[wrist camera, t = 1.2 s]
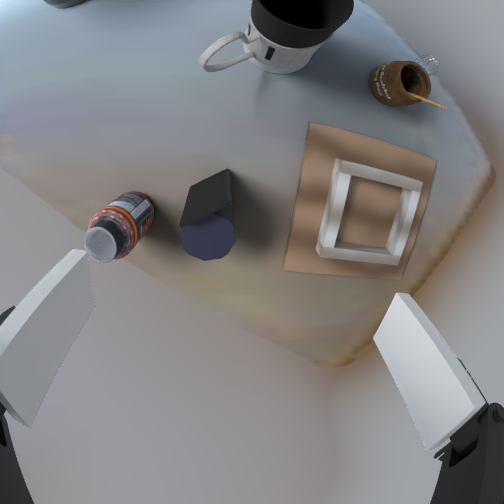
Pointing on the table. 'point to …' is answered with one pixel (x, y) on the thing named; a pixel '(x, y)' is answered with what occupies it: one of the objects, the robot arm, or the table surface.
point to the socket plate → (356, 205)
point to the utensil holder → (401, 83)
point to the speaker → (209, 218)
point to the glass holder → (283, 33)
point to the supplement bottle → (118, 227)
